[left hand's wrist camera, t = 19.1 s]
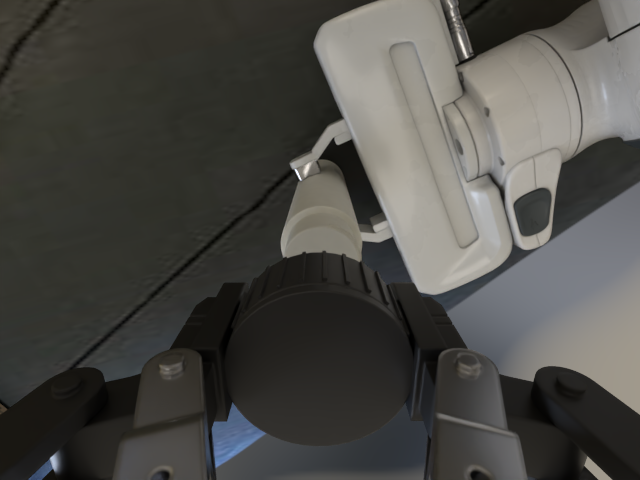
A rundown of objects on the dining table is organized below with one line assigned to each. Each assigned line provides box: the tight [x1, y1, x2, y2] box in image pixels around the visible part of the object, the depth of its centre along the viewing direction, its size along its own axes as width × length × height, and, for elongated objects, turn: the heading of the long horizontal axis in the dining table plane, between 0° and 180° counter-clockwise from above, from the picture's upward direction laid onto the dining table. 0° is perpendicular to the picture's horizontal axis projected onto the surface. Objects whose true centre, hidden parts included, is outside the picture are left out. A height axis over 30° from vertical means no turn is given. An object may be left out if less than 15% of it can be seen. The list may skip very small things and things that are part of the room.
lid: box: [224, 251, 414, 446], centre depth 10 cm, size 5×5×2 cm
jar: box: [281, 160, 362, 262], centre depth 24 cm, size 4×4×18 cm
